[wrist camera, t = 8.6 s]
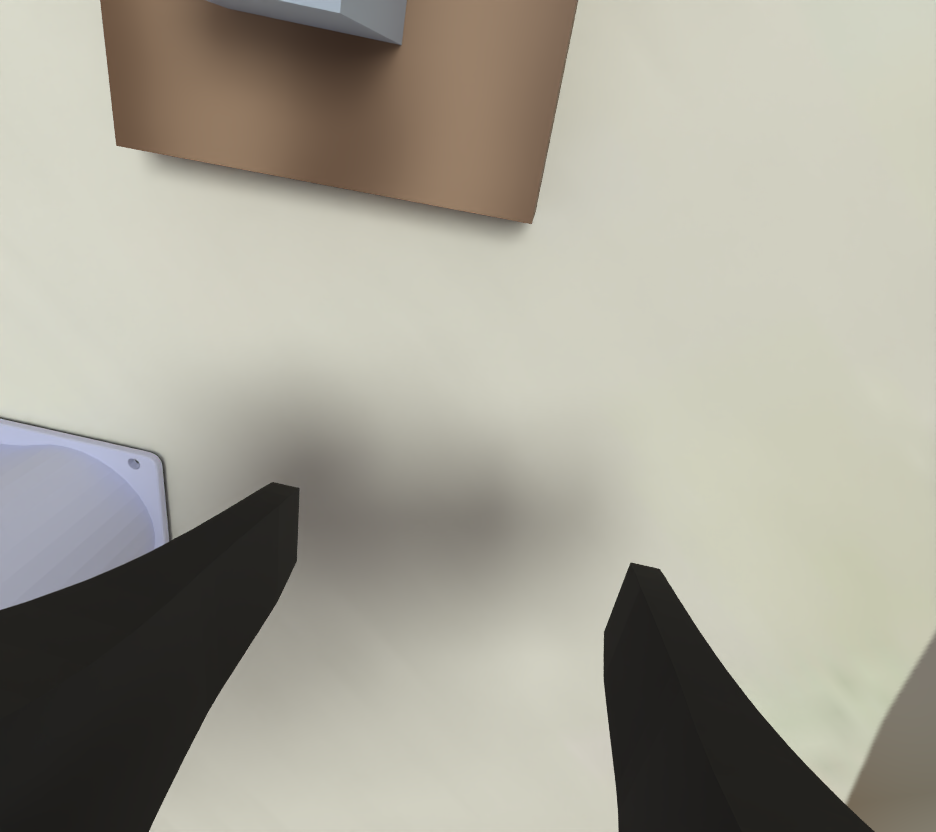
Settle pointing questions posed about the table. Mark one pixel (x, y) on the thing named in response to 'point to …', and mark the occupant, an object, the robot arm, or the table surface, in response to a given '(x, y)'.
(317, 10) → the slate cube
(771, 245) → the table surface
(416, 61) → the walnut base
